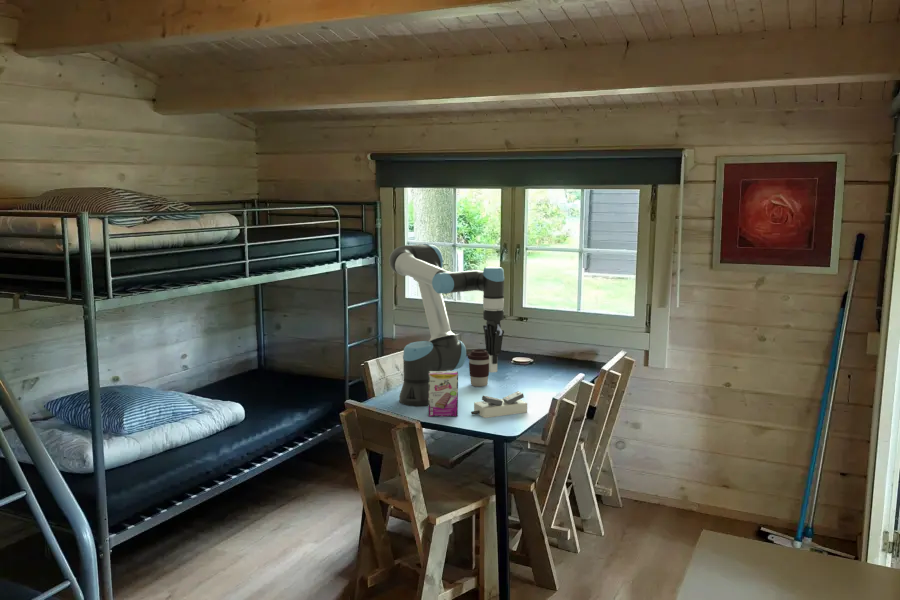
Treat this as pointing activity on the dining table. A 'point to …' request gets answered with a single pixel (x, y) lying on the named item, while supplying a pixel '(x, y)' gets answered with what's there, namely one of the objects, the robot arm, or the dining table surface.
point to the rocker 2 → (513, 397)
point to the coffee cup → (479, 367)
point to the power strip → (499, 408)
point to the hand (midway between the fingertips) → (493, 371)
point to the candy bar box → (443, 393)
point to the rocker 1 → (492, 400)
